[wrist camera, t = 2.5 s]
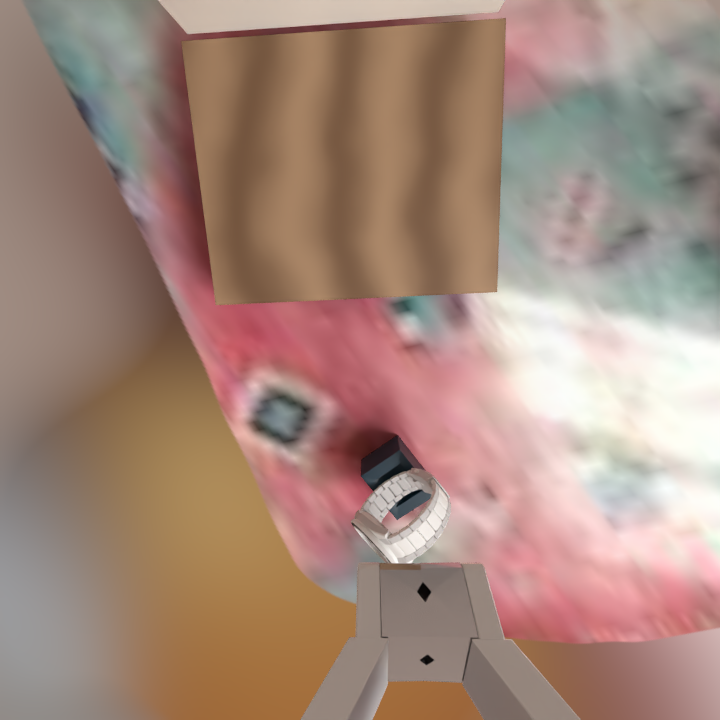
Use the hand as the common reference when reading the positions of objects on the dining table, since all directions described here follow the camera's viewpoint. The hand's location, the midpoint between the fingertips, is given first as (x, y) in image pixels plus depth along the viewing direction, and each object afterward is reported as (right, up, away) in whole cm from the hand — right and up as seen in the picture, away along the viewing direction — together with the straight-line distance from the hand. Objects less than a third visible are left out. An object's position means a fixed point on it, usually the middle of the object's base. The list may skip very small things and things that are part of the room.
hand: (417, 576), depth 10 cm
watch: (+2, -5, +29) cm, 29 cm away
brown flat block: (-2, +20, +23) cm, 30 cm away
